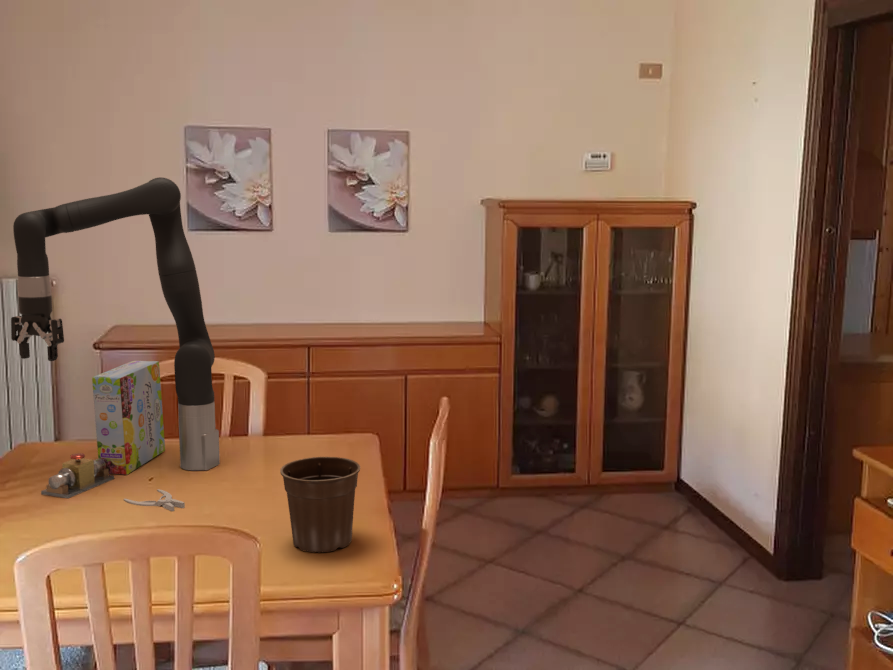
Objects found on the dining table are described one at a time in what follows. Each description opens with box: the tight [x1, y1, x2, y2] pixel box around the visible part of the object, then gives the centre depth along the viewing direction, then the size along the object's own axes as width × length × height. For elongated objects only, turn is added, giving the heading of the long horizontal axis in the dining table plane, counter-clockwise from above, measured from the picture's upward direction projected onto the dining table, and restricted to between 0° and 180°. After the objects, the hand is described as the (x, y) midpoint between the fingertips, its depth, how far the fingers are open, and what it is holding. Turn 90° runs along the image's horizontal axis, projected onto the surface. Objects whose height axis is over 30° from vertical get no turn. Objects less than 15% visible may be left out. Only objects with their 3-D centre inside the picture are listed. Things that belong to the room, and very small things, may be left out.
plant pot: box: [280, 456, 361, 553], centre depth 190 cm, size 16×16×16 cm
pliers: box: [123, 489, 185, 512], centre depth 215 cm, size 10×2×15 cm
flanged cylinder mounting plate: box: [40, 457, 115, 499], centre depth 225 cm, size 16×8×6 cm, turn 160°
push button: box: [61, 452, 95, 487], centre depth 225 cm, size 5×5×7 cm
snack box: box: [91, 360, 166, 476], centre depth 243 cm, size 22×9×26 cm, turn 171°
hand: (38, 359), depth 228 cm, fingers open, 8 cm apart
